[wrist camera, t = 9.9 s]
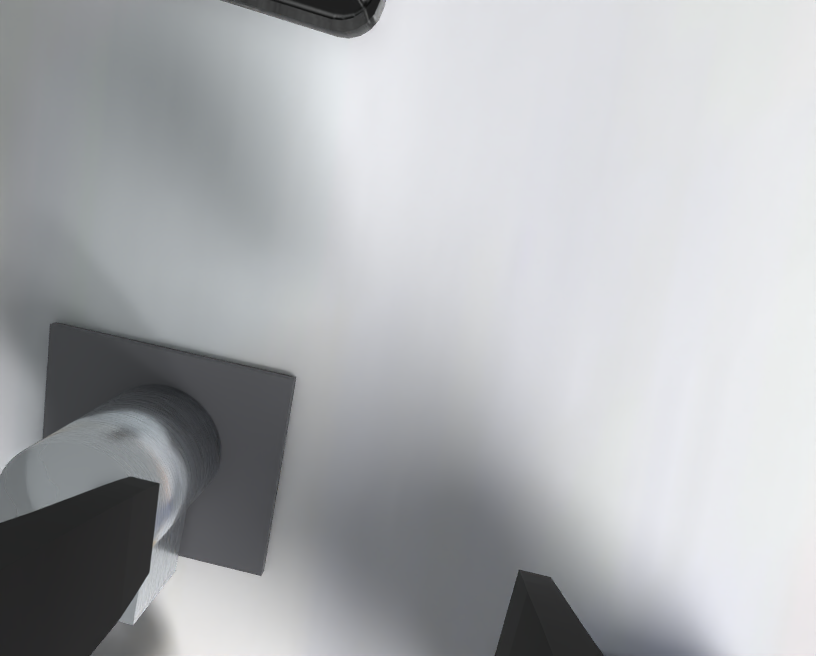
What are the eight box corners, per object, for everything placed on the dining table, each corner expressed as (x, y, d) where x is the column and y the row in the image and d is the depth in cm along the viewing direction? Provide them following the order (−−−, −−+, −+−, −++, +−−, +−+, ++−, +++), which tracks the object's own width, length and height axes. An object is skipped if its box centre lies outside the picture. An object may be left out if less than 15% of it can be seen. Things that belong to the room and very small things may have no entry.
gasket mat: (295, 377, 22) (293, 380, 21) (263, 571, 23) (261, 575, 23) (55, 322, 22) (50, 324, 22) (43, 516, 24) (37, 520, 24)
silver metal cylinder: (231, 403, 22) (159, 468, 17) (198, 571, 23) (124, 676, 18) (109, 369, 22) (1, 423, 17) (86, 538, 24) (-20, 633, 18)
